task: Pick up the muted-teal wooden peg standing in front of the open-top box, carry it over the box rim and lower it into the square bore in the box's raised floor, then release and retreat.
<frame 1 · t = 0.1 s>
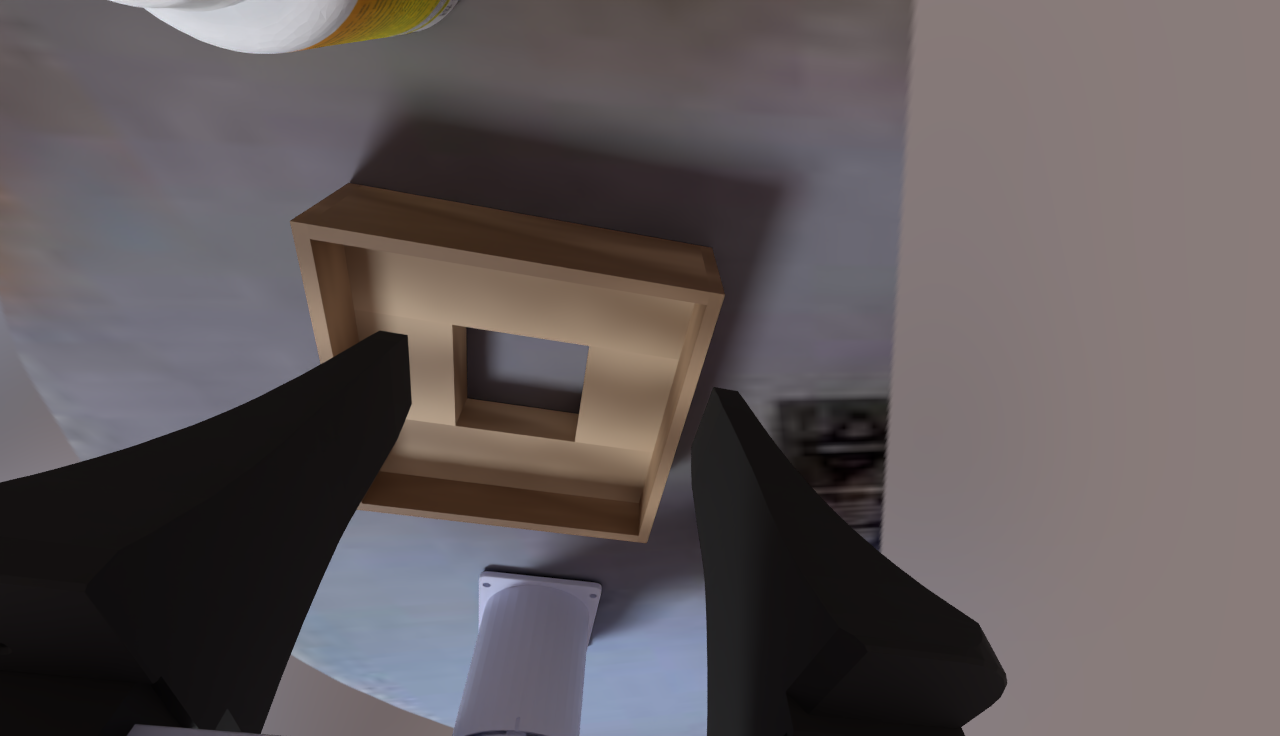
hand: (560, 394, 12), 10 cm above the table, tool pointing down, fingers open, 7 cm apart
box: (526, 361, 24), on the table
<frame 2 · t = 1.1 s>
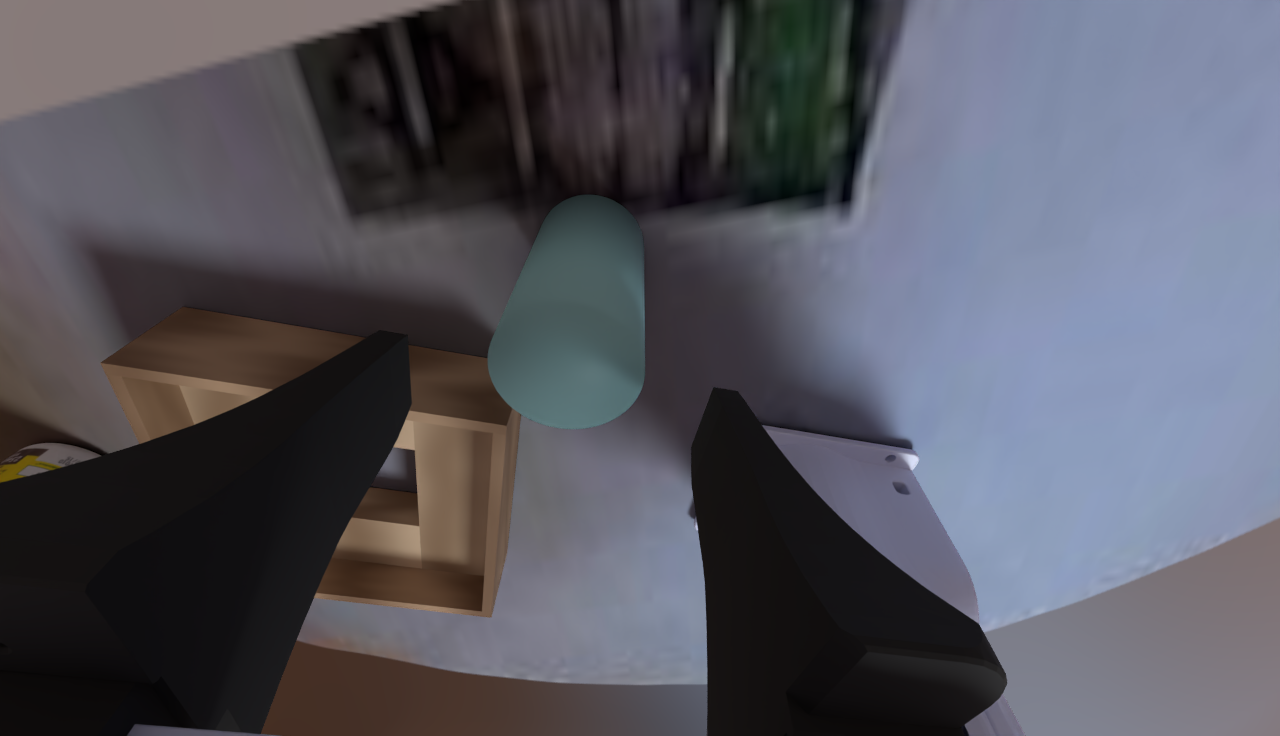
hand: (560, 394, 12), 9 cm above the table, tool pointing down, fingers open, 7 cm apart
supplement bottle: (89, 472, 27), on the table
peg: (591, 247, 20), on the table
box: (375, 452, 26), on the table
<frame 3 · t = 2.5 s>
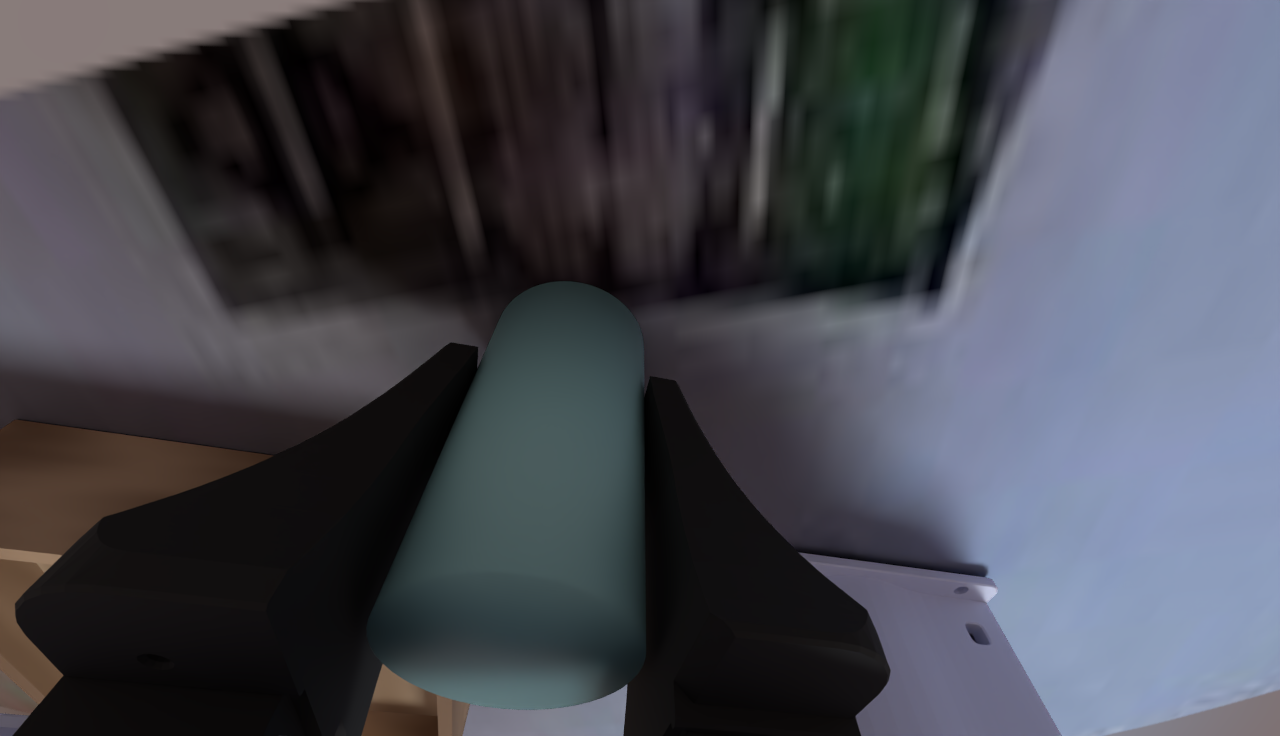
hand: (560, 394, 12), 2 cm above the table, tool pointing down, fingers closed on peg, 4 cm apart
peg: (570, 348, 14), on the table, touching gripper
box: (300, 578, 20), on the table
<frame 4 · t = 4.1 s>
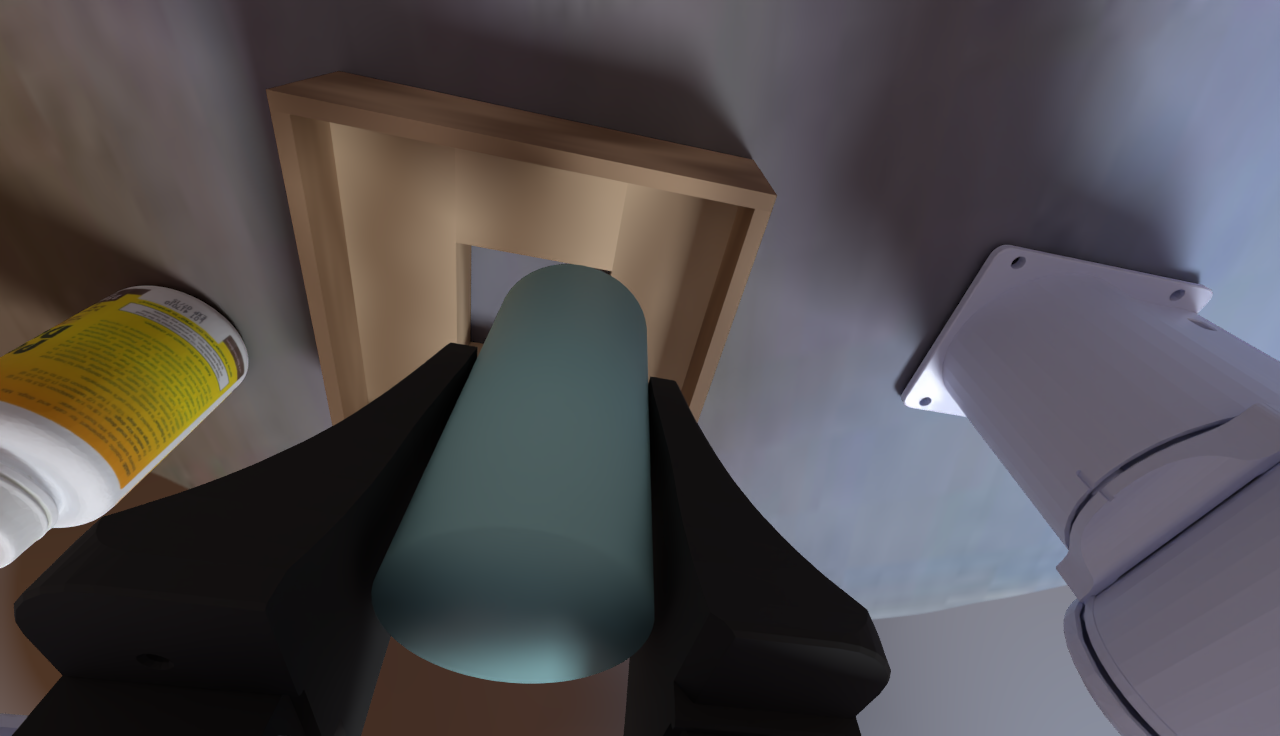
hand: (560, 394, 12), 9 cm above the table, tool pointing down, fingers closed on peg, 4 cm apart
supplement bottle: (190, 334, 23), on the table
peg: (573, 333, 14), point 7 cm above the table, touching gripper
box: (538, 298, 22), on the table
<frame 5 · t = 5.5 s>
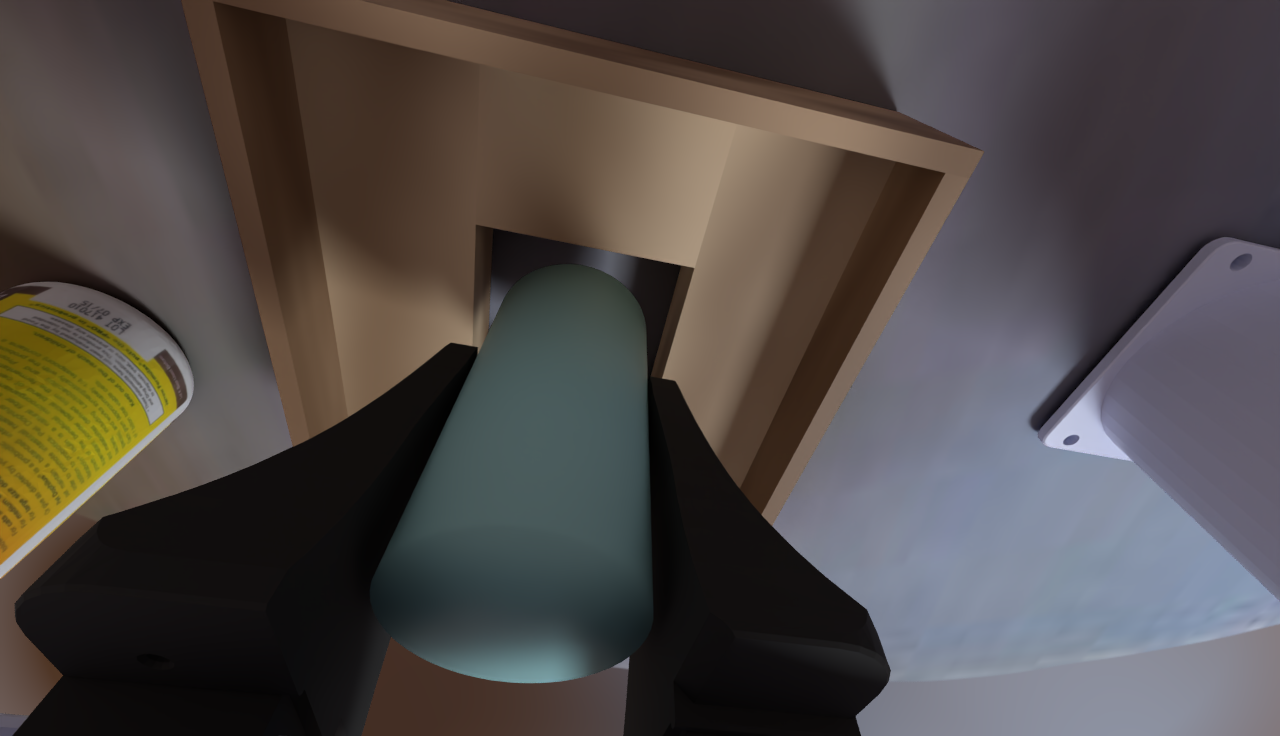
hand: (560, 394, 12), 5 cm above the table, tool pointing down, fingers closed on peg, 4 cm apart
supplement bottle: (116, 346, 17), on the table
peg: (572, 333, 14), point 2 cm above the table, touching gripper
box: (580, 303, 16), on the table
when the fingers open (3 cm above the table, at t = 6.2 s): peg drops 1 cm, resting in box.
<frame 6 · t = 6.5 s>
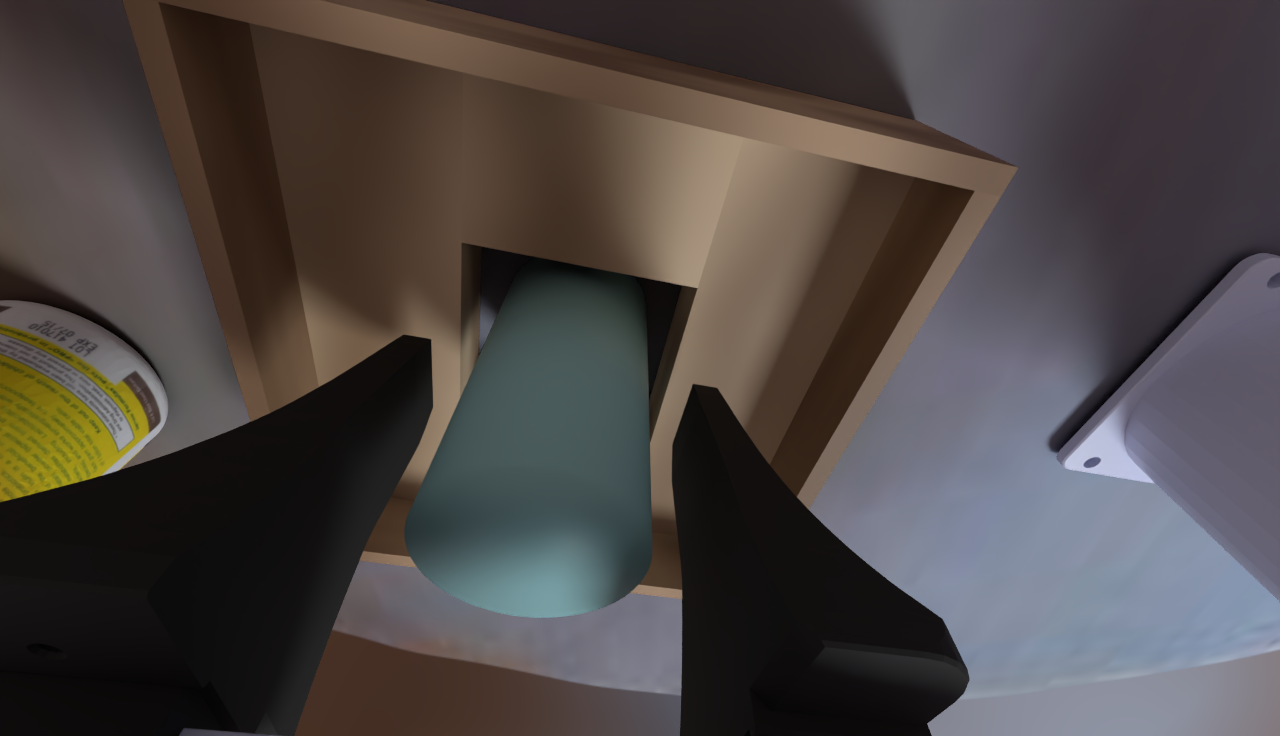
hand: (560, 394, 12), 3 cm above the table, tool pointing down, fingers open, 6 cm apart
supplement bottle: (85, 366, 16), on the table
peg: (577, 311, 15), resting in box
box: (575, 322, 15), on the table
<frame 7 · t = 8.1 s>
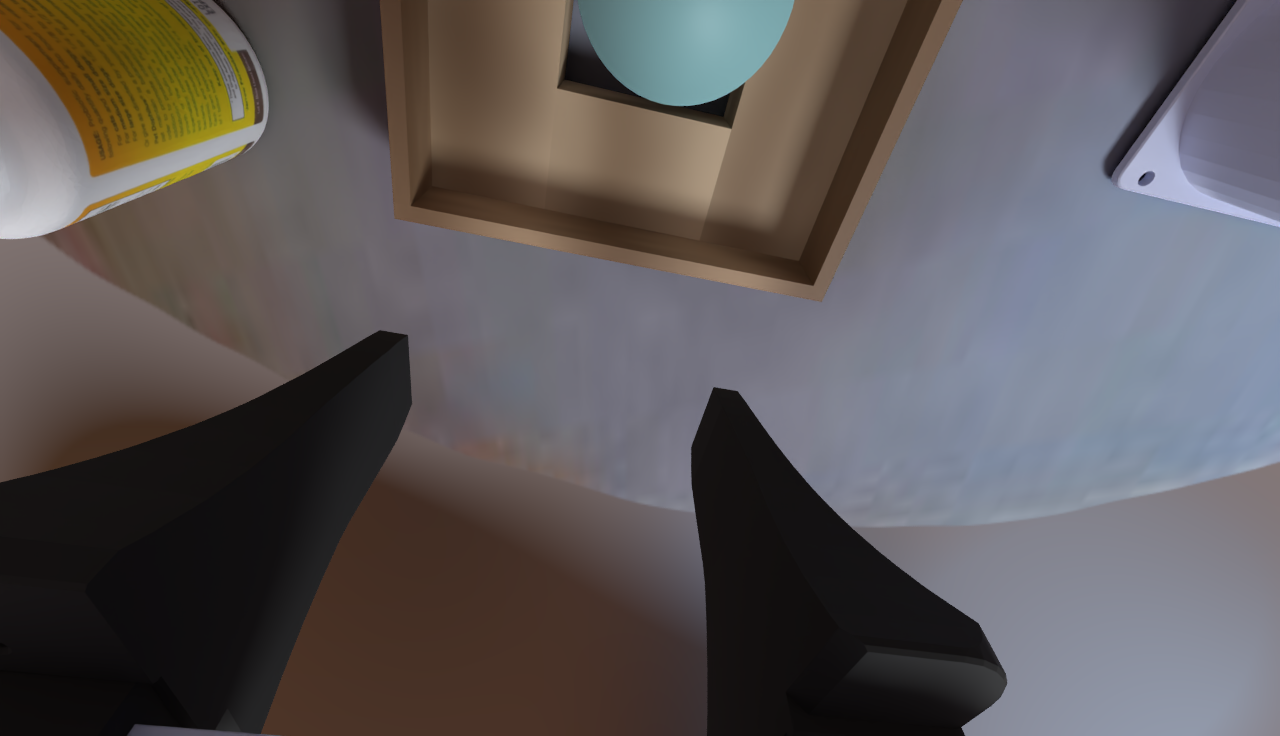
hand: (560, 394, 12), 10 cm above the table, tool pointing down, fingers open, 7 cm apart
supplement bottle: (191, 67, 17), on the table
box: (664, 1, 16), on the table
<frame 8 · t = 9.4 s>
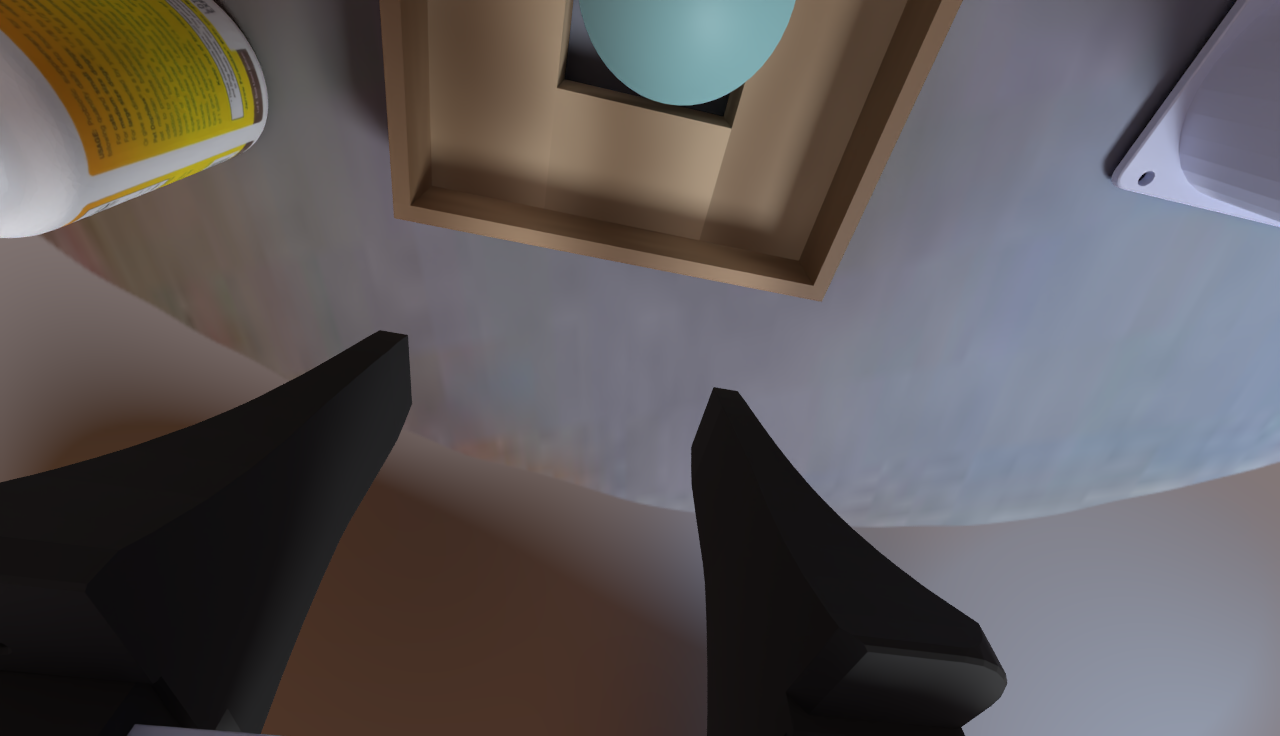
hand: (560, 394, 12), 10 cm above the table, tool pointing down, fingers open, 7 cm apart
supplement bottle: (190, 67, 17), on the table
box: (664, 0, 16), on the table
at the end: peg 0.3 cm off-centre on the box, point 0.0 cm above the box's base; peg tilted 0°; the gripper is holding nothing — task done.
